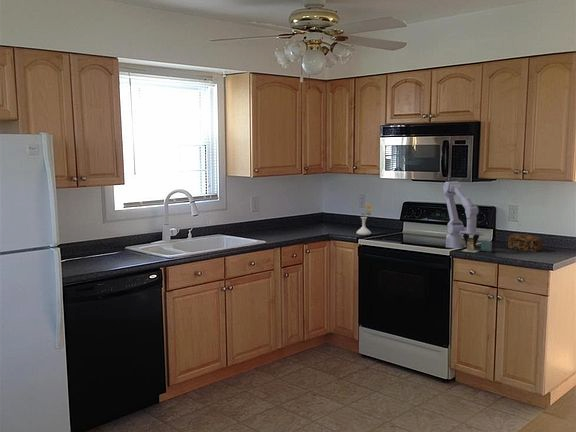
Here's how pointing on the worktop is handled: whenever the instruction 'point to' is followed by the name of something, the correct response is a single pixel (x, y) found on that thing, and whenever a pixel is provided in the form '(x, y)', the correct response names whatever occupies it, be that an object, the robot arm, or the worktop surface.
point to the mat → (471, 251)
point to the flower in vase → (363, 229)
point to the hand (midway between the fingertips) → (470, 246)
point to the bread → (524, 242)
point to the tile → (485, 245)
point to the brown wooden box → (470, 244)
